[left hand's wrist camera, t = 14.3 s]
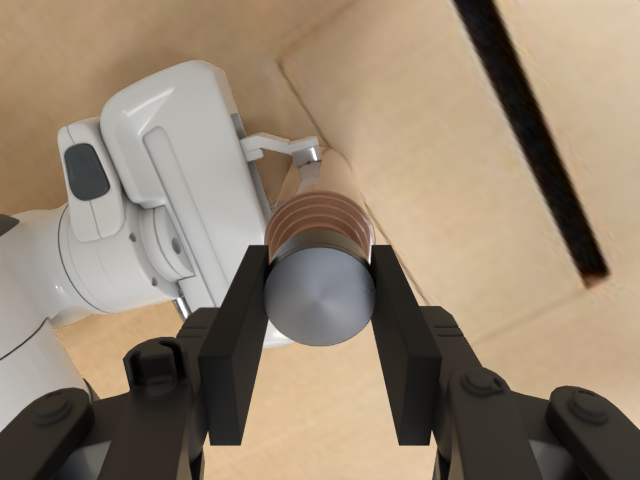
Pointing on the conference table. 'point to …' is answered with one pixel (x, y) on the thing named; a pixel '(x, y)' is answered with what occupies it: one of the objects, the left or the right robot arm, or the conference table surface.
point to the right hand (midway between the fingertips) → (332, 194)
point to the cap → (319, 288)
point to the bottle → (320, 204)
